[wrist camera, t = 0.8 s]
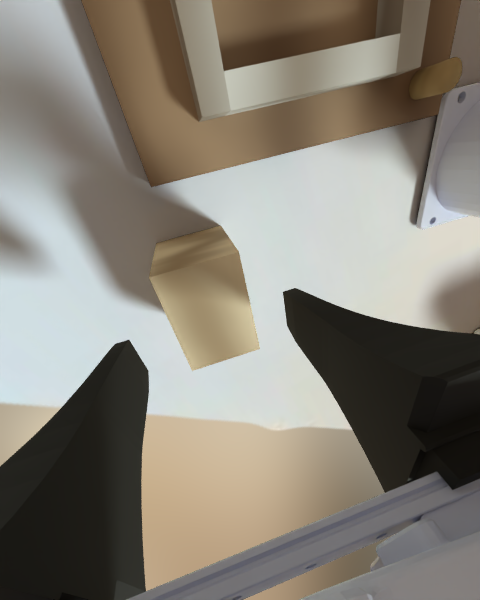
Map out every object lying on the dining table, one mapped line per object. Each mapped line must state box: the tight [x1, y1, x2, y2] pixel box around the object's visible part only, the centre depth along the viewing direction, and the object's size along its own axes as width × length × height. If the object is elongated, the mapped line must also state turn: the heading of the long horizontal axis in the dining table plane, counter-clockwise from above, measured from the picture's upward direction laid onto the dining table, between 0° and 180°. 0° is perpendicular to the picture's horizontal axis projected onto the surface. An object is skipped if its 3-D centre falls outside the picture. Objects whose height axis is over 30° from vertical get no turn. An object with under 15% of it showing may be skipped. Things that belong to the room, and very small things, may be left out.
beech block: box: [149, 226, 260, 371], centre depth 14 cm, size 4×6×5 cm, turn 12°
